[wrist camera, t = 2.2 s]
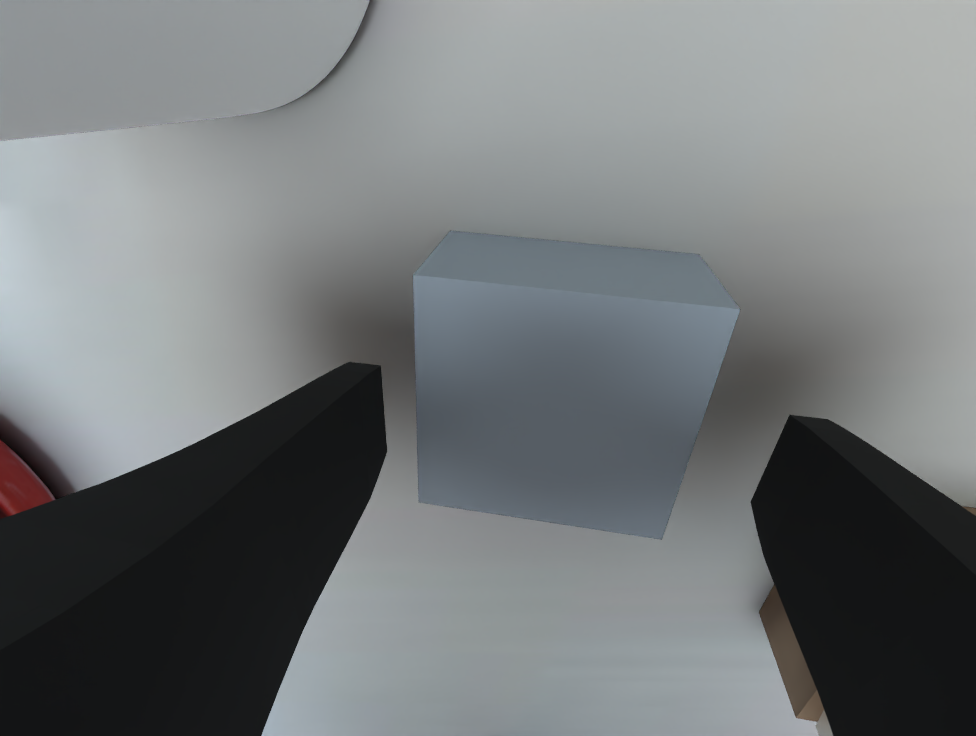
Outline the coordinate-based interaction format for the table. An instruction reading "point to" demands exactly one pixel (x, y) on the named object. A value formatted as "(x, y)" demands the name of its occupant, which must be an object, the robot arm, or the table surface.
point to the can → (161, 60)
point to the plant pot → (19, 484)
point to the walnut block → (793, 657)
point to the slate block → (563, 377)
